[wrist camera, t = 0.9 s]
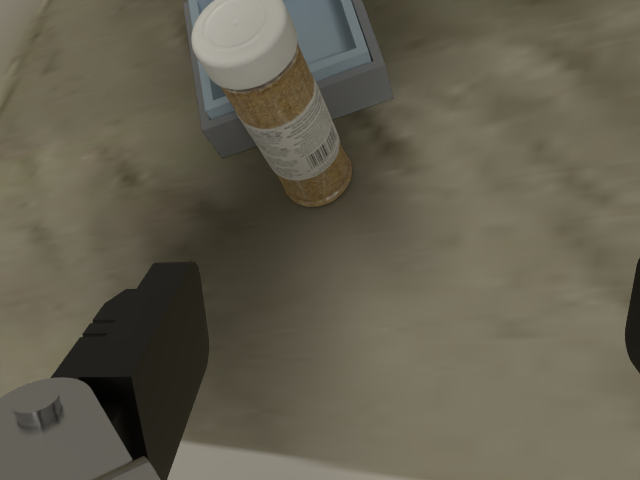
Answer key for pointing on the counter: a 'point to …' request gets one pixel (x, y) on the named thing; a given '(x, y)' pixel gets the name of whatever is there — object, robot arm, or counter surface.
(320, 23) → the blue square tray
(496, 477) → the counter surface
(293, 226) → the counter surface
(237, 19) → the sprinkles bottle
